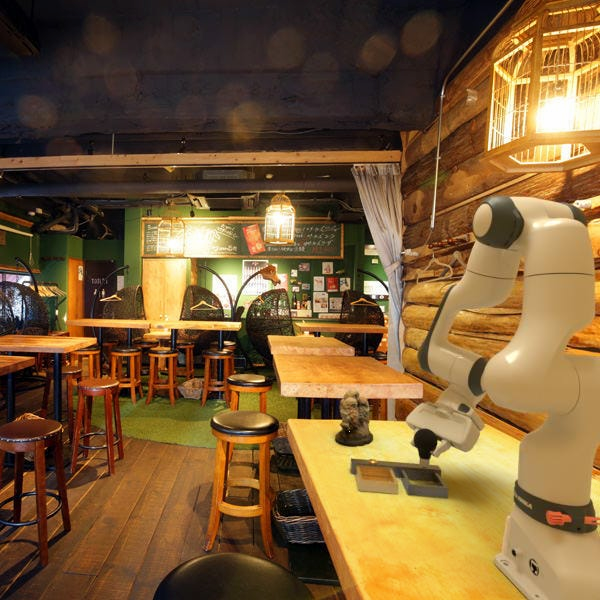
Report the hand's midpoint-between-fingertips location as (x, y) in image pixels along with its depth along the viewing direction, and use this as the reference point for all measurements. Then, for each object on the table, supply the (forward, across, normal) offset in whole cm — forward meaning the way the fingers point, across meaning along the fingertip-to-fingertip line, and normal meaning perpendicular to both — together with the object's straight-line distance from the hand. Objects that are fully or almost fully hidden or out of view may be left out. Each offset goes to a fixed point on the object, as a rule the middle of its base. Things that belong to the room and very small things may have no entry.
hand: (423, 450), depth 100 cm
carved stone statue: (+4, -36, +10) cm, 38 cm away
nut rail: (+9, -5, +4) cm, 11 cm away
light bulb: (+3, 0, +4) cm, 5 cm away
